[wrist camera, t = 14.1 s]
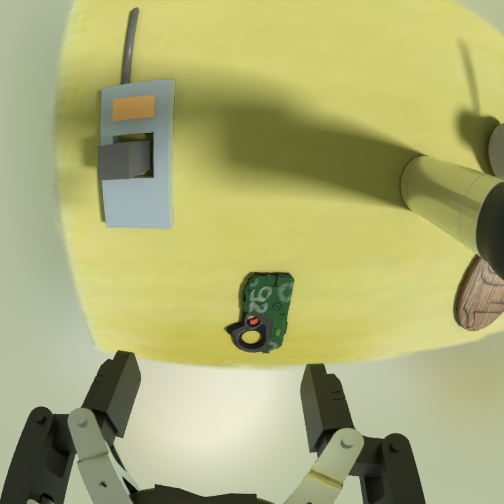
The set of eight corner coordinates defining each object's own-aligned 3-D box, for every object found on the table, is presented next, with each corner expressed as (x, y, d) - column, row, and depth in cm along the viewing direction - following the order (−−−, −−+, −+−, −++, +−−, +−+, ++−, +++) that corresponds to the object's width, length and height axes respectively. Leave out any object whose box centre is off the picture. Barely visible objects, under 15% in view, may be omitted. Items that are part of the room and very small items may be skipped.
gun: (229, 272, 40) (297, 276, 41) (230, 267, 42) (295, 271, 42) (226, 351, 47) (281, 353, 48) (226, 345, 48) (281, 348, 49)
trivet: (498, 320, 50) (501, 324, 48) (440, 332, 50) (444, 337, 48) (530, 236, 40) (535, 239, 38) (478, 227, 39) (484, 231, 37)
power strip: (184, 2, 24) (180, -5, 22) (173, 224, 38) (169, 229, 36) (118, 13, 24) (112, 8, 22) (112, 222, 38) (105, 227, 36)
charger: (152, 139, 33) (128, 143, 26) (152, 168, 35) (129, 179, 28) (125, 141, 33) (97, 146, 26) (126, 169, 35) (99, 180, 27)
